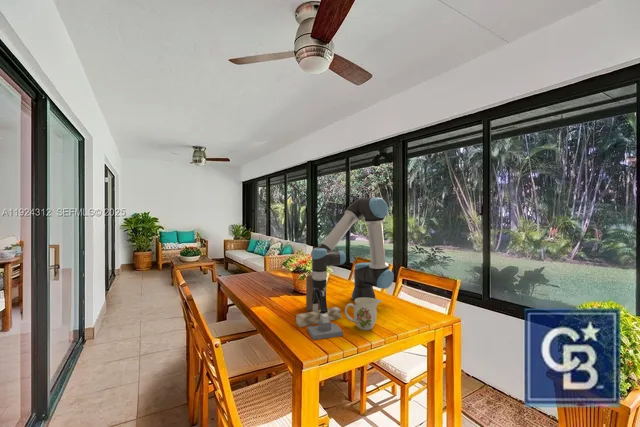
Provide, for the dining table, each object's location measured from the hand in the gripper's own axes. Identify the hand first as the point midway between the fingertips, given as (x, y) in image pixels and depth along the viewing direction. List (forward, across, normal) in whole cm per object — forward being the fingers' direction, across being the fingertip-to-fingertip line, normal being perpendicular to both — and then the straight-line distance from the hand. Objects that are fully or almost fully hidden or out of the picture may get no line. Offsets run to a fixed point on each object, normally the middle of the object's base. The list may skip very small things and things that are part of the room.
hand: (319, 320), depth 151 cm
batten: (0, 0, 0) cm, 1 cm away
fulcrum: (0, +15, -2) cm, 15 cm away
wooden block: (0, -18, +4) cm, 18 cm away
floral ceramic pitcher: (0, +14, +18) cm, 23 cm away
